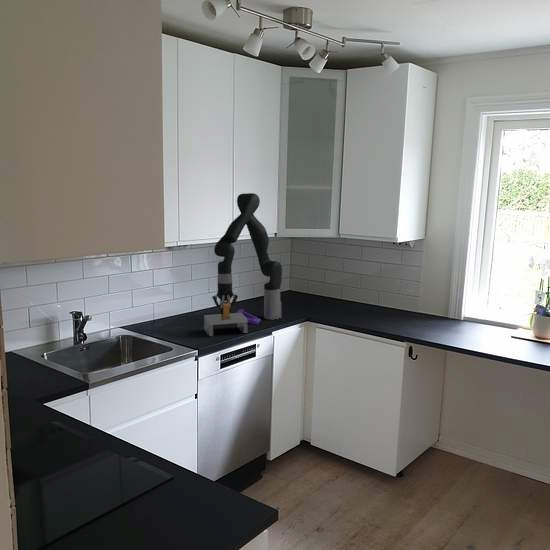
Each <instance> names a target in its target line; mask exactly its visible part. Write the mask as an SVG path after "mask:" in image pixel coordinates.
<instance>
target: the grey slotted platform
mask: <svg viewBox="0 0 550 550" xmlns="http://www.w3.org/2000/svg"><path fill="white" fill-rule="evenodd" d="M203 320H204V321H203V324H204V325H203V329H204V331H205V333H206V335H209V336H212V337H214V326H215V325H216V326H218V325H230V324H237V328H238V330H239V331H240V332H241V333H242V334H243V333H247V334H248V331H249V330H248V326H249V325H248V324H247V318H246V317H245V316H244V315H243V314H242V313H237V312H233V313H232V312H231V313H230V314H229V318H223V317H222V315H221V314H220V313H218V314H205V315H203ZM247 334H246V335H247ZM209 336H208V337H209Z"/></svg>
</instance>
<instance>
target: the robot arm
mask: <svg viewBox="0 0 550 550" xmlns="http://www.w3.org/2000/svg"><path fill="white" fill-rule="evenodd" d="M260 203H261V200H260V196H259V195H258V194H257V193H254V192H253V193H252V192H248V193H241V194H238V196H237V198H236V204H237V207H238V210H239V211H240V214H239V215H238V216H237V217H236V218H234V220H233V221H232V222H231V223H230V224H229V225H228V227H227V229H226V231H225V233H224V235H222V237H220V239H219V240H217V242H216V244H214V245H215V246H214V249H213V250H214V254H215V256H217V257H220V258H221V257H222V258H223V260H222V261H219V262H218V263H217V293H216V295H212V300H213V302H214V304H215V305H216V306H215V307H217V308H219V314H221V315H223V303H224V302H228V303H229V305H230V311H229V314H230V313H232V309H231V308H232V307H235V304H236V303H237V299H238V298H239V296H238V295H237V294H235V293H234V292H233V275H232V271H233V270H232V265H233V260H234V256H235V247H234V245H233V244H235V243H236V242H237V241H238V239H239V238H240V235H241V233H242V231H243V229H244V228H245V226H246V228H247V230H248V234H249V237H250V239H251V243H252V245H253V247H254V250H255V252H256V256H257V259H258V263H259V264H258V265H259V267H260V271H261V273H262V275H264V276H265V277H268V278H269V281H268V282H266V283H264V285H263V293H264V294H263V297H264V298H263V300H264V302H263V304H264V305H263V312H264V313H263V315H264V317H263V318H264V319H265V320H269V319H270V321H272V320H273V321H274V320H275V319H276V320H280V319H282V301H281V285H282V283H283V282H282V279H283V266H282V264H281V262H279V261H277V260H272V259H270V257H269V254H268V248H269V242H270V239H269V236H268V232H267V229H266V227H265V226H264V225H263V224H262V222H261V221H259V220H258V219H257V217H256V216H255V215H254V214H255V212H256V211H257V210H258V208H259V206H260ZM232 298H233V299H232ZM218 299H219V302H218V301H217V300H218ZM231 300H232V301H231ZM279 318H280V319H279Z"/></svg>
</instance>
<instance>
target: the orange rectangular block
mask: <svg viewBox="0 0 550 550" xmlns="http://www.w3.org/2000/svg"><path fill="white" fill-rule="evenodd" d="M229 311H230V305H229V303H228V302H227V301H224V303H223V315H222V317H223V318H229Z"/></svg>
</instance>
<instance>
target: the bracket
mask: <svg viewBox="0 0 550 550" xmlns="http://www.w3.org/2000/svg"><path fill="white" fill-rule="evenodd" d="M236 313H242V314H243V315H244V316H245V317H246V318H247V323H252V324H251V325H259V324H260V323H261V322H262V320H261V318H258V317H257V316H255V315H252V314H251V313H249V312H246V311H245V309H244V308H240V309H238V310H237V311H236ZM260 321H261V322H260ZM259 322H260V323H259ZM258 323H259V324H258Z"/></svg>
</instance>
